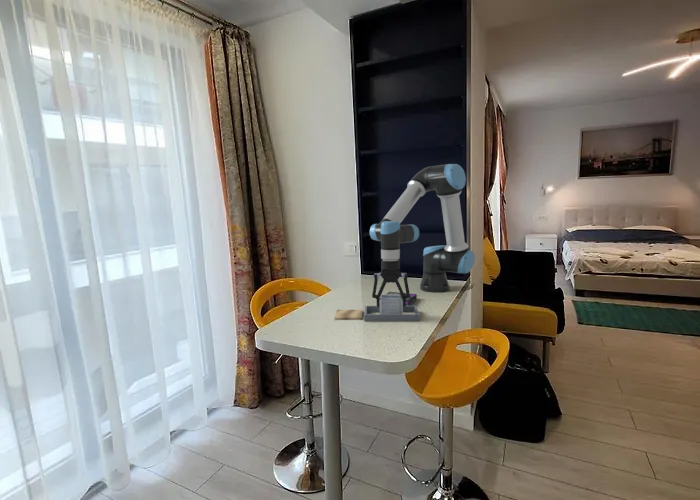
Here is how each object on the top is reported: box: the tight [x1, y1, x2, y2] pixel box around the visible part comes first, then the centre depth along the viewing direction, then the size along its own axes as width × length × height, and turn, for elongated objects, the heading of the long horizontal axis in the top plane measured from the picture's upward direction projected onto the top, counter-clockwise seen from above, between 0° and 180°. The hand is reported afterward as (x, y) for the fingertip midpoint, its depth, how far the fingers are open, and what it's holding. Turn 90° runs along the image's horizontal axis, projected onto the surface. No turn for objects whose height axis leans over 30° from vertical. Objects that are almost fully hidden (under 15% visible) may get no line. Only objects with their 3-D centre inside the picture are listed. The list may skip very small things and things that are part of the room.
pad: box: [334, 309, 364, 321], centre depth 152 cm, size 11×11×1 cm
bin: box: [363, 305, 420, 322], centre depth 150 cm, size 22×13×2 cm, turn 86°
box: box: [386, 291, 418, 306], centre depth 170 cm, size 14×4×20 cm
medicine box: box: [380, 293, 401, 314], centre depth 150 cm, size 8×4×9 cm, turn 84°
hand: (391, 314), depth 150 cm, fingers closed on medicine box, 8 cm apart
